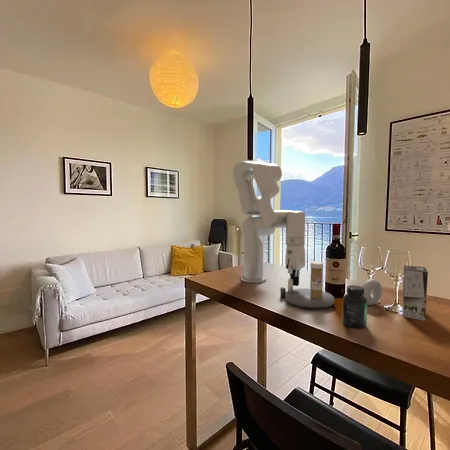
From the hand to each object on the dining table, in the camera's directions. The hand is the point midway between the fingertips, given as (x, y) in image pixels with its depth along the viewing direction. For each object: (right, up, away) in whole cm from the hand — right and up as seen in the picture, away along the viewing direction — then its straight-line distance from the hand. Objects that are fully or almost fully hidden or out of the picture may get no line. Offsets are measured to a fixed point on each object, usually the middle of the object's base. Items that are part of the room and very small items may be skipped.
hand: (294, 285), depth 114 cm
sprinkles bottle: (+6, -3, -9) cm, 11 cm away
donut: (+26, -6, -10) cm, 29 cm away
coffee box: (+36, -6, -19) cm, 41 cm away
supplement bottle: (+12, -7, -27) cm, 30 cm away
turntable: (+3, -4, -7) cm, 8 cm away
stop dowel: (-5, -5, -2) cm, 7 cm away
